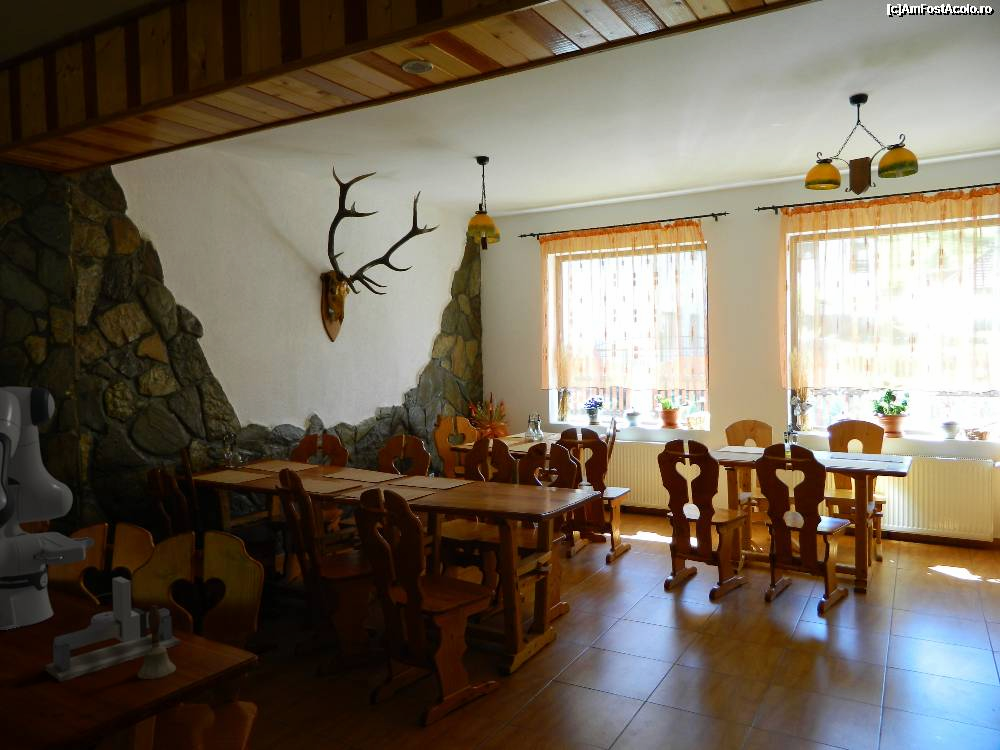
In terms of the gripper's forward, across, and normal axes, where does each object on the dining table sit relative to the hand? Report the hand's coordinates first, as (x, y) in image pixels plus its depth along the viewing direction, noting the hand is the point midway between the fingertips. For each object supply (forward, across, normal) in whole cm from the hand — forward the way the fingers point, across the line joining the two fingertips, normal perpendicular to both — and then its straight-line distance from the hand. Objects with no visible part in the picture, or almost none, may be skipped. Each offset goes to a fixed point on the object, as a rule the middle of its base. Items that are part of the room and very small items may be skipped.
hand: (92, 541), depth 179 cm
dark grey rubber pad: (+9, -2, +26) cm, 27 cm away
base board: (+4, -2, +30) cm, 30 cm away
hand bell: (+7, -19, +30) cm, 36 cm away
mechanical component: (+9, +19, +30) cm, 37 cm away
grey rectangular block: (+7, -2, +26) cm, 27 cm away
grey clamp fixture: (+4, -2, +28) cm, 29 cm away
